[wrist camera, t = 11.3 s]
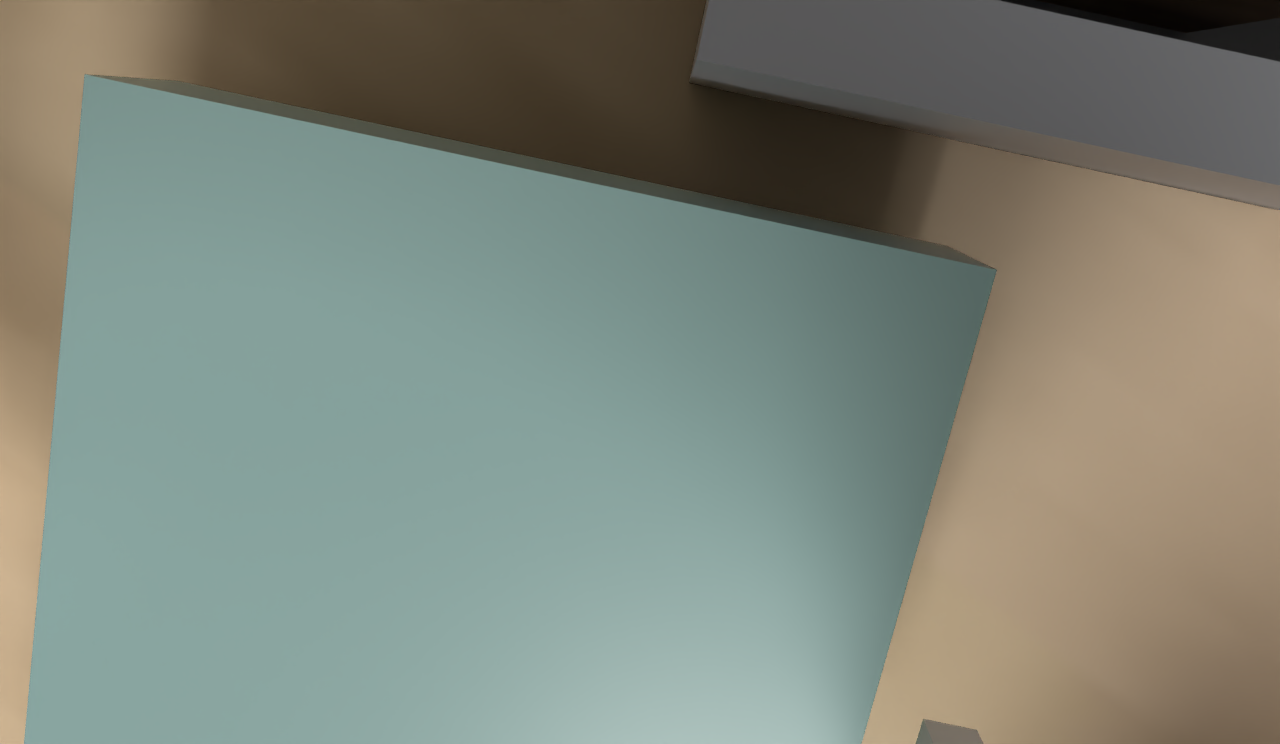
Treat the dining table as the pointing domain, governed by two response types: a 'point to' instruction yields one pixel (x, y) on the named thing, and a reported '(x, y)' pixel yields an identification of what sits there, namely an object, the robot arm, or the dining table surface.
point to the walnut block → (1180, 12)
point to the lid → (471, 443)
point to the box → (1021, 82)
